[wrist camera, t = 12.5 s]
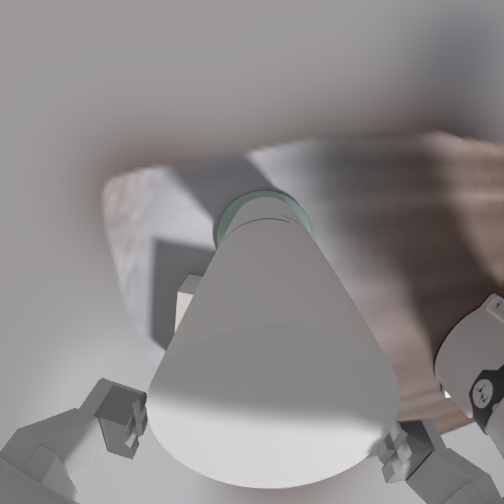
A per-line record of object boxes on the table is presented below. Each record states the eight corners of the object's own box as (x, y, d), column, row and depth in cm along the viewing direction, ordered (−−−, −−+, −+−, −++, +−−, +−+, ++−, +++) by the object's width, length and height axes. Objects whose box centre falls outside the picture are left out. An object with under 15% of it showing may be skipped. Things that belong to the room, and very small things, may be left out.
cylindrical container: (234, 193, 30) (132, 304, 6) (304, 200, 30) (438, 328, 6) (228, 261, 32) (160, 474, 8) (295, 267, 32) (355, 484, 8)
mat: (320, 200, 31) (321, 201, 30) (300, 288, 33) (300, 291, 33) (224, 183, 30) (224, 183, 30) (211, 273, 33) (210, 275, 33)
